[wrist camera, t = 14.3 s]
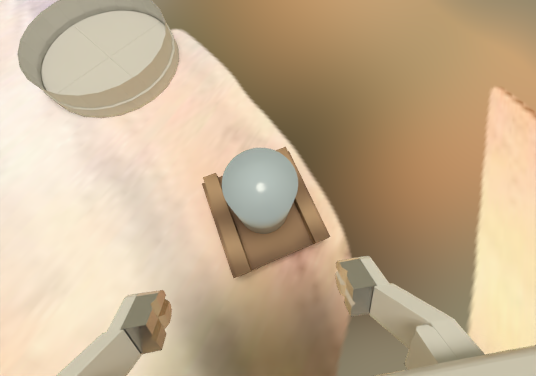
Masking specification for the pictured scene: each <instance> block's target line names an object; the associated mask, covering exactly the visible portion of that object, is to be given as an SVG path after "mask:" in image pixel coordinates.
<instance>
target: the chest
mask: <svg viewBox="0 0 536 376" xmlns="http://www.w3.org/2000/svg"><path fill="white" fill-rule="evenodd" d="M276 151H277V152H279V153H281V154H282V155H284V156H285V157H286V158H287V159H288V160H289V161H290V162H291V163H292V165H293V166H294V168H295V170H296V173H297V177H298V190H297V194H296V197H295V199H294V202H293V204H292V206H291V209H290V211H289V213H288V216H287V218H286V220H285V222H284V224H283V225H282V226H281V227H280V228H279V229H277V230H276V231H274V232H271V233H268V234H259V233H255V232H253V231H251V230H249V229H248V228H247V227H246V226H245V225H244V224H243V223H242V222H241V220H240V219H239V218H238V216H237V215H236V214H235V213H234V211H233V210H232V209H231V208H230V206H229V205H228V203H227V202H226V200H225V198H224V195H223V192H222V177H223V176H221V177H218V176H217V174H216V173H214V174H211V175H208V176H206V177H203V179H204V182H205V183H202V185H203V188H204V191H205V194H206V197H207V200H208V203H209V206H210V209H211V212H212V215H213V218H214V221H215V224H216V227H217V230H218V233H219V236H220V239H221V242H222V245H223V248H224V251H225V254H226V257H227V260H228V263H229V266H230V269H231V272H232V275H233V278H235V277H239V276H241V275H243V274H246V273H248V272H250V271H252V270H254V269H256V268H259V267H261V266H263V265H266V264H268V263H270V262H273V261H275V260H277V259H280V258H282V257H284V256H287V255H289V254H291V253H294V252H296V251H298V250H300V249H303V248H305V247H307V246H310V245H312V244H315V243H318V242H320V241H322V240H325V239H327V238H329V237H330V235H329V233H328V231H327V229H326V227H325V225H324V223H323V221H322V219H321V217H320V215H319V213H318V210H317V208H316V206H315V204H314V202H313V200H312V198H311V196H310V194H309V192H308V190H307V188H306V186H305V184H304V181H303V179H302V177H301V175H300V173H299V171H298V169H297V167H296V165H295V163H294V161H293V159H292V157H291V155H290V153H289V151H287V149H286V147H284V148H281V149H279V150H276Z"/></svg>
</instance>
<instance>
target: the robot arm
mask: <svg viewBox="0 0 536 376" xmlns="http://www.w3.org/2000/svg"><path fill="white" fill-rule="evenodd" d="M336 268H337V270H338V271H337V272H336V284H337V287H338V290H339V292H340V294H341V295H342V296H344V297H345V300H344V303H345V305H346V308H347V310H348V312H349V314H350V316H351V317H352V316H359V315H365V314H369V315H370V316H371V317H372V318H374V319H375V320H376V321H377V322H378V323H379V324H381V325H382V326H383V327H384V328H385V329H386V330H387V331H389V332H390V333H391V334H392V335H393V336H394V337H396V338H397V339H398V340H399V341H400V342H401V343H403V344H404V345H405V346H406V347H407V348H408V349H409V351H408V354H407V357H406V360H405V363H404V364H405V366H406V368H407V370H402V371H396V372H391V373H386V374H381V375H375V376H536V345H533V346H528V347H523V348H518V349H512V350H507V351H502V352H496V353H491V354H486V355H485V354H484V353H483V352H482V351H481V349H480V348H479V347H478V346H477V345H476V344H475V343H474V341H473V340H472V339H471V338H470V337H469V336H468V335H467V333H466V332H465V331H464V330H463V329H462V328H461V327H460V325H459V324H458V323H457V322H456V321H455V320H454V319H453V318H451V317H450V316H448V315H446V314H445V313H443V312H441V311H440V310H438V309H436V308H434V307H433V306H430V305H429V304H427V303H426V302H424V301H422V300H420V299H419V298H417V297H415V296H414V295H412V294H410V293H408V292H407V291H405V290H403V289H402V288H400V287H398V286H396V285H395V284H393V283H392V284H389V282H388V281H387V280H386V278H385V277H384V276H383V274H382V273H381V271H380V270H379V269H378V267H377V266H376V264H375V263H374V262H373V260H372V259H371V257H369V256H364V257H358V258H351V259H345V260H340V261H337V262H336ZM165 296H166V294H165V292H164V291H163V290H160V291H152V292H145V293H139V294H132V295H128V296H126V297H125V298H124V300H123V302H122V304H121V306H120V308H119V310H118V311H117V313H116V315H115V317H114V319H113V321H112V323H111V325H110V327H109V328H108V330H107V332H105V333H102V334H101V335H100V336H99V337H98V338H97V339H96V340H95V341H94V342H92V343H91V344H90V345H89V346H88V347H87V348H86V349H85V350H84V351H83V352H81V353H80V354H79V355H78V356H77V357H76V358H75V359H74V360H73V361H72V362H71V363H69V364H68V365H67V366H66V367H65V368H64V369H63V370H62V371H61V372H60V373H58V374H57V375H56V376H126V375H127V374H128V373H129V371H130V370H131V369H132V367H133V366H134V365H135V363H136V362H137V361H138V360H139V358H140V357H141V354H145V353H150V352H155V351H159V350H162V347H163V344H164V340H165V337H166V332H165V328H166V327H167V326H168V324H169V323H170V319H171V312H172V309H171V304H170V302H169V301H168V300H166V299H165Z"/></svg>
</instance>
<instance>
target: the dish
mask: <svg viewBox="0 0 536 376" xmlns="http://www.w3.org/2000/svg"><path fill="white" fill-rule="evenodd" d="M18 59H19V65H20V68H21V70H22V71H23V73H24V75H25V76H26V78H27V79H28V80H29V81H31V82H32V83H33V84H35V85H36V86H38V87H39V88H40V89H42V90H43V91H44V92H45V94H46V95H47V96H49V97H50V98H51V99H53V100H54V101H55V102H57V103H58V104H60V105H61V106H62V107H64V108H65V109H67V110H68V111H69V112H72V113H75V114H78V115H81V116H84V117H96V118H106V117H112V116H119V115H123V114H126V113H128V112H131V111H134V110H136V109H139V108H141V107H143V106H144V105H146V104H147V103H149V102H151V101H152V100H154V99H155V98H156V97H157V96H158V95H159V94H160V93H161V92H162V91H163V90H164V89H165V88H166V87H167V86H168V85H169V83H170V81H171V80H172V78H173V76H174V75H175V73H176V69H177V65H178V62H179V54H178V46H177V44H176V42H175V40H174V37H173V35H172V33H171V31H170V28H169V26H168V25H167V24H166V22H165V19H164V17H163V15H162V13H161V11H160V9H159V8H158V7H157V5H156V4H155V3H154V2H152V0H59V1H57V2H55V3H54V4H52V5H51V6H49V7H48V8H47V9H45V10H44V11H42V12H41V13H40V14H39V15H38V16H37V17H36V18H35V19H34V20H33V21H32V22H31V23H30V24H29V25H28V27H27V29H26V31H25V32H24V34H23V36H22V38H21V40H20V44H19V49H18Z"/></svg>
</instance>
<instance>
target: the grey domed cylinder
mask: <svg viewBox="0 0 536 376" xmlns="http://www.w3.org/2000/svg"><path fill="white" fill-rule="evenodd" d="M297 190H298V177H297V173H296V170H295V168H294V166H293V165H292V163H291V162H290V161H289V160H288V159H287V158H286V157H285V156H284V155H282V154H281V153H279V152H277V151H275V150H272V149H267V148H254V149H249V150H246V151H244V152H242V153H240V154H238V155H237V156H236V157H234V158H233V159H232V160H231V161H230V163H229V164H228V165H227V167H226V169H225V171H224V174H223V177H222V192H223V195H224V198H225V200H226V202H227V203H228V205H229V206H230V208H231V209H232V210H233V211H234V213H235V214H236V215H237V216H238V218H239V219H240V220H241V222H242V223H243V224H244V225H245V226H246V227H247V228H248V229H249V230H251V231H253V232H255V233H259V234H268V233H271V232H274V231H276V230H277V229H279V228H280V227H281V226H282V225H283V224H284V222H285V220H286V218H287V216H288V213H289V211H290V209H291V206H292V204H293V202H294V199H295V197H296V194H297Z"/></svg>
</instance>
